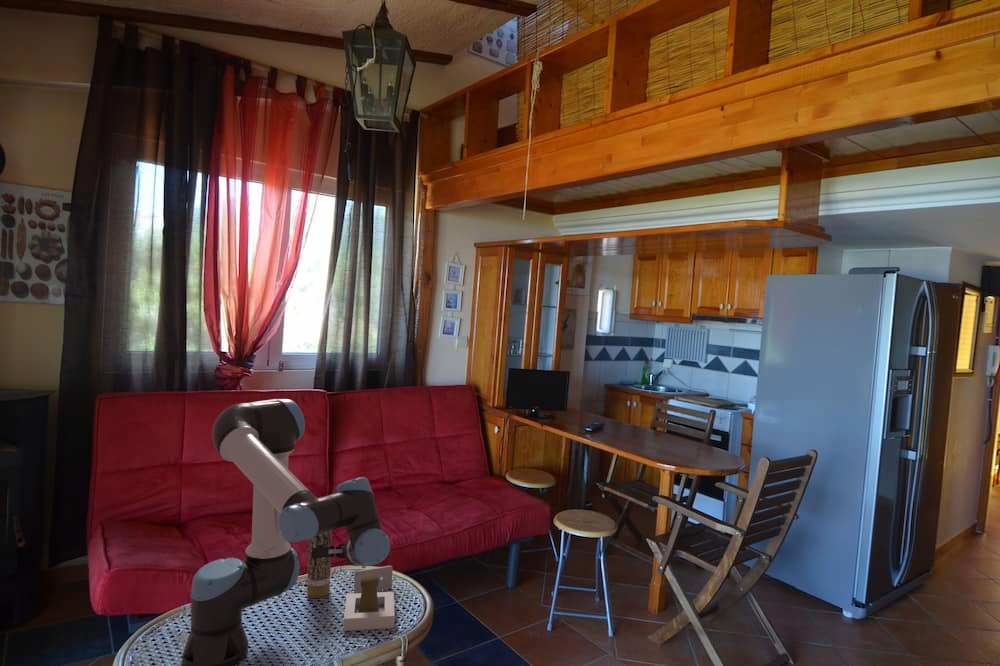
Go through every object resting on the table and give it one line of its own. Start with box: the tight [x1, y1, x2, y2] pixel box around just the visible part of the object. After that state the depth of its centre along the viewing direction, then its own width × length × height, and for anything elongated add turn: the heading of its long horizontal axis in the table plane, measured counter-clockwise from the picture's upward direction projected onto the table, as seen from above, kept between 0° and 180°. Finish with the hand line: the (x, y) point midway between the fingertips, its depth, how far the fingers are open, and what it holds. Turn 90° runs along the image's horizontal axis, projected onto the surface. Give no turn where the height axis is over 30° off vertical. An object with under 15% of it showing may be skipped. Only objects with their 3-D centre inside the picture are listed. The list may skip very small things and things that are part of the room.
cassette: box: [353, 565, 393, 594], centre depth 184 cm, size 12×2×8 cm, turn 115°
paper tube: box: [306, 530, 333, 599], centre depth 181 cm, size 7×7×25 cm
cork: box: [358, 574, 379, 613], centre depth 169 cm, size 6×6×11 cm
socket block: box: [342, 591, 396, 632], centre depth 170 cm, size 14×14×4 cm
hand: (347, 551), depth 157 cm, fingers open, 13 cm apart
